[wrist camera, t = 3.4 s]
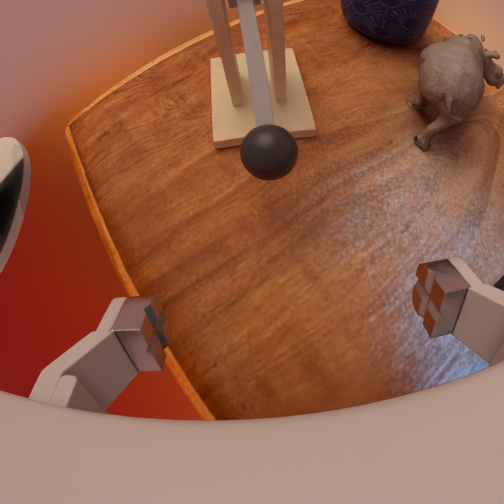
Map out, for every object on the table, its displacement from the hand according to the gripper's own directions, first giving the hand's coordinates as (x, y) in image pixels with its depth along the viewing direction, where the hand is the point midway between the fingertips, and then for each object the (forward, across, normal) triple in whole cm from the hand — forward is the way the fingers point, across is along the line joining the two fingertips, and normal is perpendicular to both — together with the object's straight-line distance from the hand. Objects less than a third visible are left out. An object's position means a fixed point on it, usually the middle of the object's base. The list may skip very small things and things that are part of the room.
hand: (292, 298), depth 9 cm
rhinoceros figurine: (+23, -21, -4) cm, 31 cm away
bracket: (+24, 0, -5) cm, 25 cm away
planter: (+34, -18, -14) cm, 41 cm away
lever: (+15, 0, -7) cm, 17 cm away
